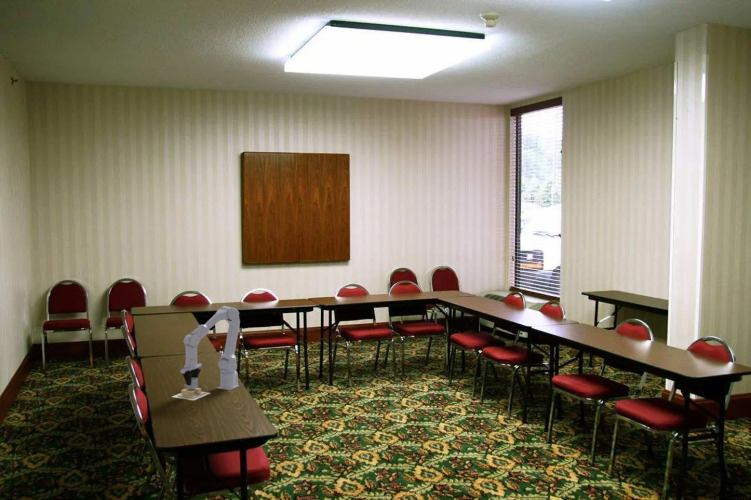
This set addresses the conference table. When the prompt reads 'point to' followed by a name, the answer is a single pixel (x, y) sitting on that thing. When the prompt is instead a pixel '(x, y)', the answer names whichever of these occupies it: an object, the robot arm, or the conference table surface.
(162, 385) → the conference table surface
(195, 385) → the grey rectangular block
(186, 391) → the maple slab
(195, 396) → the white square board
